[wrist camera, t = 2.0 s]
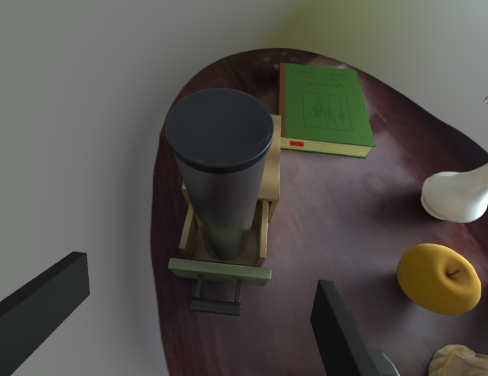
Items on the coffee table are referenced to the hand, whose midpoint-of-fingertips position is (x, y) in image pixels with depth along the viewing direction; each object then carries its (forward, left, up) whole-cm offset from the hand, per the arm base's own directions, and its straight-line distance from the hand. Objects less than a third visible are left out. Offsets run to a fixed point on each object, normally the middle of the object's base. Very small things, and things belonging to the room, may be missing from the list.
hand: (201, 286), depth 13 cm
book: (0, +45, -23) cm, 50 cm away
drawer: (-3, +8, -21) cm, 23 cm away
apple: (+24, +16, -23) cm, 37 cm away
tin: (-4, +8, -20) cm, 22 cm away
